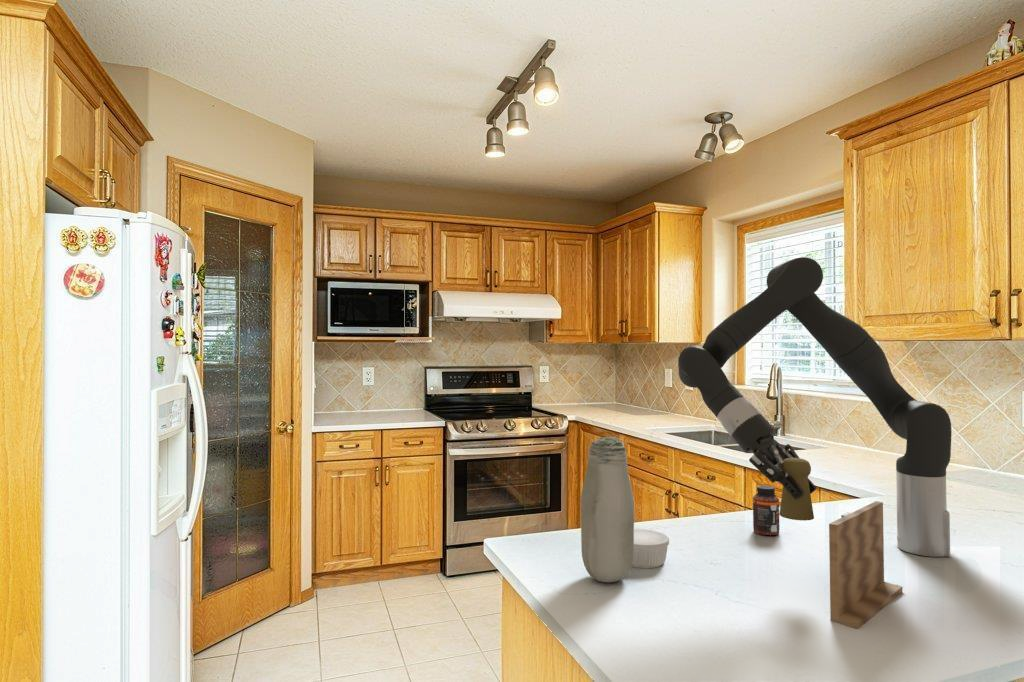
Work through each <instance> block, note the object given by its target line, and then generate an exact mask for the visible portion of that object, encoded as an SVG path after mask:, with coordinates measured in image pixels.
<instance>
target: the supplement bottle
mask: <svg viewBox="0 0 1024 682" xmlns="http://www.w3.org/2000/svg"><path fill="white" fill-rule="evenodd" d="M775 488H776V487H774V486H771V485H758V486H756V494H754V495H753V497H752V518H753V519H752V523H753V524H752V528H753V532H754V533H756V534H757V533H758V534H757V535H760V534H761V536H765V535H770V536H769V537H772V536H771V535H776V536H778V535H779V534H780V514H779V513H780V498H779V496H777V495H776V494H775V493H776V492H775ZM777 534H778V535H777Z"/></svg>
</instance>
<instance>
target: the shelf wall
mask: <svg viewBox="0 0 1024 682" xmlns="http://www.w3.org/2000/svg"><path fill="white" fill-rule="evenodd" d="M849 513H850V514H848V515H846V516H844V517H842V518H841V517H840V518H838V519H835V520H834V521H832V522H830V523H828V534H829V536H828V537H829V539H828V540H829V541H828V542H829V546H828V547H829V594H830V595H829V611H830V612H829V613H830V616H829V617H830V621H833V622H836V623H839V624H842V625H845V626H847V627H851V628H854V629H857V630H858V629H860V628H862V626H863V625H864V624H866V623H867V622H868V621H869V620H871V619H872V618H873V617H874V616H875V615H876V614H877V613H879V612H880V611H882V610H883V609H884V608H885V607H886V606H888V605H889V604H890V603H891V602H892V601H893V600H895V599H896V598H897V597H898V596H899V595H901V594H902V593H903V586H902V585H898V584H894V583H890V582H888V581H885V559H884V558H885V556H884V555H885V550H884V544H885V543H884V539H885V538H884V502H883V501H878V500H877V501H873V502H871V503H870V504H867V505H866V506H863V507H861V508H858V509H857V510H855V511H852V512H849Z"/></svg>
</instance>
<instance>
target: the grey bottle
mask: <svg viewBox="0 0 1024 682" xmlns="http://www.w3.org/2000/svg"><path fill="white" fill-rule="evenodd" d="M592 441H593V442H591V444H590V446H589V448H588V453H587V464H586V466H587V467H586V472H585V476H584V480H583V485H582V489H581V495H580V535H581V536H580V539H581V541H580V542H581V546H580V547H581V557H582V562H583V565H584V568H585V570H586V572H587V574H588V575H589V576H590V577H591V578H593V579H595V580H597V581H599V582H602V583H608V584H609V583H610V584H611V583H616V582H617V581H620V580H622V579H624V578H625V577H626V576H627V575H628V574H629V572H630V571H631V569H632V563H633V557H634V529H635V499H634V498H635V497H634V492H633V488H632V483H631V479H630V474H629V469H628V461H627V460H628V457H627V456H628V455H627V449H626V447H625V445H624V443H623V442H622V441H621V440H620V439H619V438H617V437H614V436H602V437H598V438H596V439H595V440H592Z"/></svg>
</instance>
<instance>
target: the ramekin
mask: <svg viewBox="0 0 1024 682" xmlns="http://www.w3.org/2000/svg"><path fill="white" fill-rule="evenodd" d="M669 545H670V538H669V537H668V536H667V534H665V533H663V532H660V531H656V530H650V529H638V528H637V529H635V528H634V557H633V563H632V566H631V568H632V567H633V568H639V569H653V568H654V569H655V568H658V567H661V566H662V565H663V564H664V563H665V562H666V558H667V552H668V546H669Z"/></svg>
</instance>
